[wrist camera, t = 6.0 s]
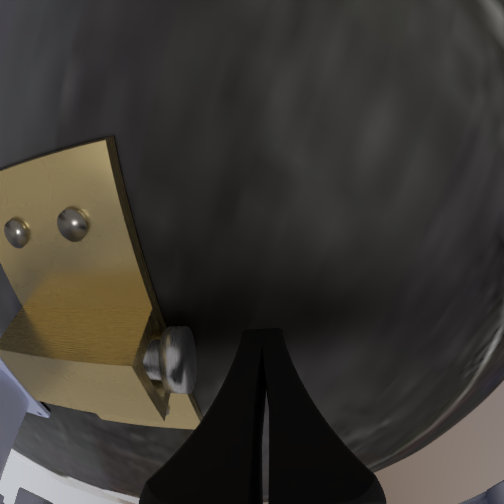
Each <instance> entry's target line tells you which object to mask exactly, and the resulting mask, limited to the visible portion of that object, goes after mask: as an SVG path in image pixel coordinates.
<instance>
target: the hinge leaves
mask: <svg viewBox="0 0 504 504" xmlns="http://www.w3.org/2000/svg"><path fill="white" fill-rule="evenodd" d="M0 263H1V265H2V267H3V269H4V271H5V273H6V275H7V277H8V279H9V281H10V284H11V285H12V287H13V289H14V291H15V293H16V295H17V297H18V299H19V301H20V303H21V304H22V306H23V307H22V308H21V310H20V311H19V313H18V314H17V315H16V317H15V318H14V320H13V321H12V322H11V324H10V325H9V327H8V328H7V330H6V331H5V333H4V334H3V336H2V337H1V339H0V357H1V359H2V360H3V361H4V363H5V364H6V365H7V367H8V368H9V369H10V370H11V372H12V373H13V374H14V375H15V377H16V378H17V379H18V380H19V382H20V383H21V384H22V385H23V386H24V388H25V389H26V390H27V391H28V392H29V394H30V395H31V396H32V397H33V398H34V399H35V400H38V401H42V402H46V403H50V404H54V405H58V406H63V407H67V408H72V409H77V410H82V411H87V412H93V413H97V415H98V416H99V417H100V418H101V419H103V420H109V421H115V422H122V423H129V424H137V425H146V426H156V427H167V428H180V429H196V427H197V426H198V425H199V423H200V422H201V420H202V419H203V416H202V414H201V412H200V410H199V407H198V405H197V403H196V401H195V398H194V396H193V394H192V392H191V393H190V394H175V393H168V392H167V391H166V390H165V388H164V386H163V383H162V380H150V378H149V376H148V374H147V372H146V370H145V368H144V366H143V365H142V363H143V360H144V357H145V354H146V350H147V347H148V344H149V341H150V339H161V336H162V333H163V331H164V330H165V328H166V325H165V322H164V319H163V316H162V313H161V310H160V307H159V305H158V302H157V299H156V296H155V293H154V290H153V286H152V283H151V280H150V277H149V274H148V271H147V267H146V264H145V261H144V257H143V254H142V251H141V247H140V244H139V240H138V237H137V233H136V230H135V226H134V222H133V218H132V215H131V211H130V207H129V203H128V199H127V195H126V191H125V186H124V182H123V178H122V173H121V169H120V164H119V160H118V155H117V150H116V145H115V140H114V136H111V137H106V138H102V139H98V140H94V141H90V142H86V143H82V144H79V145H75V146H71V147H68V148H64V149H61V150H57V151H54V152H51V153H47V154H44V155H41V156H38V157H35V158H32V159H29V160H26V161H23V162H20V163H17V164H14V165H11V166H9V167H6V168H3V169H0Z"/></svg>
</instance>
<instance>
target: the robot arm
mask: <svg viewBox="0 0 504 504" xmlns="http://www.w3.org/2000/svg"><path fill="white" fill-rule="evenodd" d="M266 390H267V398H268V405H269V503H268V504H386V498H385V495H384V491H383V489H382V487H381V485H380V483H379V481H378V479H377V477H376V476H375V474H374V473H372V472H371V471H370V470H369V469H368V468H367V467H366V466H365V465H364V464H363V463H362V462H361V461H360V460H359V459H358V458H357V457H356V456H355V455H354V454H353V453H352V452H351V451H350V450H349V449H348V448H347V446H346V445H345V444H344V443H343V442H342V440H341V439H340V438H339V437H338V436H337V434H336V433H335V432H334V431H333V430H332V428H331V427H330V426H329V424H328V423H327V422H326V420H325V419H324V417H323V416H322V415H321V413H320V412H319V410H318V409H317V407H316V406H315V404H314V403H313V401H312V399H311V398H310V396H309V394H308V392H307V391H306V389H305V387H304V385H303V383H302V382H301V380H300V378H299V376H298V374H297V371H296V369H295V367H294V365H293V363H292V361H291V358H290V356H289V353H288V350H287V347H286V344H285V341H284V337H283V333H282V330H281V329H280V328H273V329H256V330H245V331H244V332H243V333H242V338H241V341H240V345H239V348H238V351H237V353H236V356H235V359H234V361H233V364H232V366H231V368H230V370H229V373H228V375H227V377H226V379H225V381H224V383H223V385H222V387H221V389H220V391H219V393H218V395H217V397H216V398H215V400H214V402H213V403H212V405H211V407H210V408H209V410H208V411H207V413H206V415H205V416H204V418H203V419H202V420H201V422H200V423H199V425H198V426H197V427H196V429H195V430H194V431H193V433H192V434H191V435H190V437H189V438H188V439H187V440H186V442H185V443H184V444H183V445H182V446H181V447H180V448H179V450H178V451H177V452H176V453H175V454H174V455H173V456H172V457H171V458H170V459H169V460H168V461H167V462H166V463H165V464H164V465H163V466H162V467H161V468H160V469H159V470H158V471H157V472H156V473H155V474H154V475H153V476H151V477H150V478H149V479H148V480H147V481H146V483H145V486H144V488H143V491H142V494H141V496H140V500H139V504H263V486H262V435H263V423H264V411H265V399H266ZM26 412H29V413H32V414H35V415H39V416H42V417H46V418H49V417H50V412H49V411H48V410H47V409H46V408H45V407H44V406H43V405H42V404H41V402H40V401H38V400H35V399H34V398H33V397H32V396H31V395H30V394H29V392H28V391H27V390H26V389H25V388H24V386H23V385H22V384H21V383H20V382H19V380H18V379H17V378H16V377H15V375H14V374H13V373H12V372H11V370H10V369H9V368H8V367H7V365H6V364H5V363H4V361H3V360H2V359H1V357H0V479H1V476H2V473H3V470H4V467H5V464H6V462H7V459H8V456H9V454H10V451H11V448H12V446H13V443H14V441H15V438H16V436H17V433H18V431H19V428H20V426H21V424H22V421H23V419H24V417H25V414H26ZM3 499H4V496H2V495H1V494H0V504H4V503H3ZM15 504H53V503H51V502H49V501H48V500H46V499H44V498H42V497H40V496H38V495H35V494H33V493H31V492H29V491H27V490H25V489H23V488H19V490H18V493H17V497H16V500H15ZM459 504H504V480H503V481H501V482H499V483H498V484H496V485H494V486H493V487H491V488H490V489H488V490H487V491H486V492H484V493H482V494H479V495H477V496H475V497H473V498H471V499H469V500H467V501H464V502H462V503H459Z"/></svg>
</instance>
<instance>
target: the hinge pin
mask: <svg viewBox="0 0 504 504" xmlns="http://www.w3.org/2000/svg"><path fill="white" fill-rule="evenodd" d="M142 365H143V366H144V368H145V370H146V372H147V374H148V376H149V378H150V380H162V383H163V386H164V388H165V390H166V391H167V392H168V393H175V394H190V393H191V392H192V391H193V388H194V385H195V380H196V371H197V358H196V347H195V341H194V337H193V334H192V331H191V330H190V328H189V327H187V326H169V327H166V328H165V330H164V331H163V333H162V336H161V339H150V341H149V344H148V347H147V350H146V354H145V357H144V360H143V363H142Z"/></svg>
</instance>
